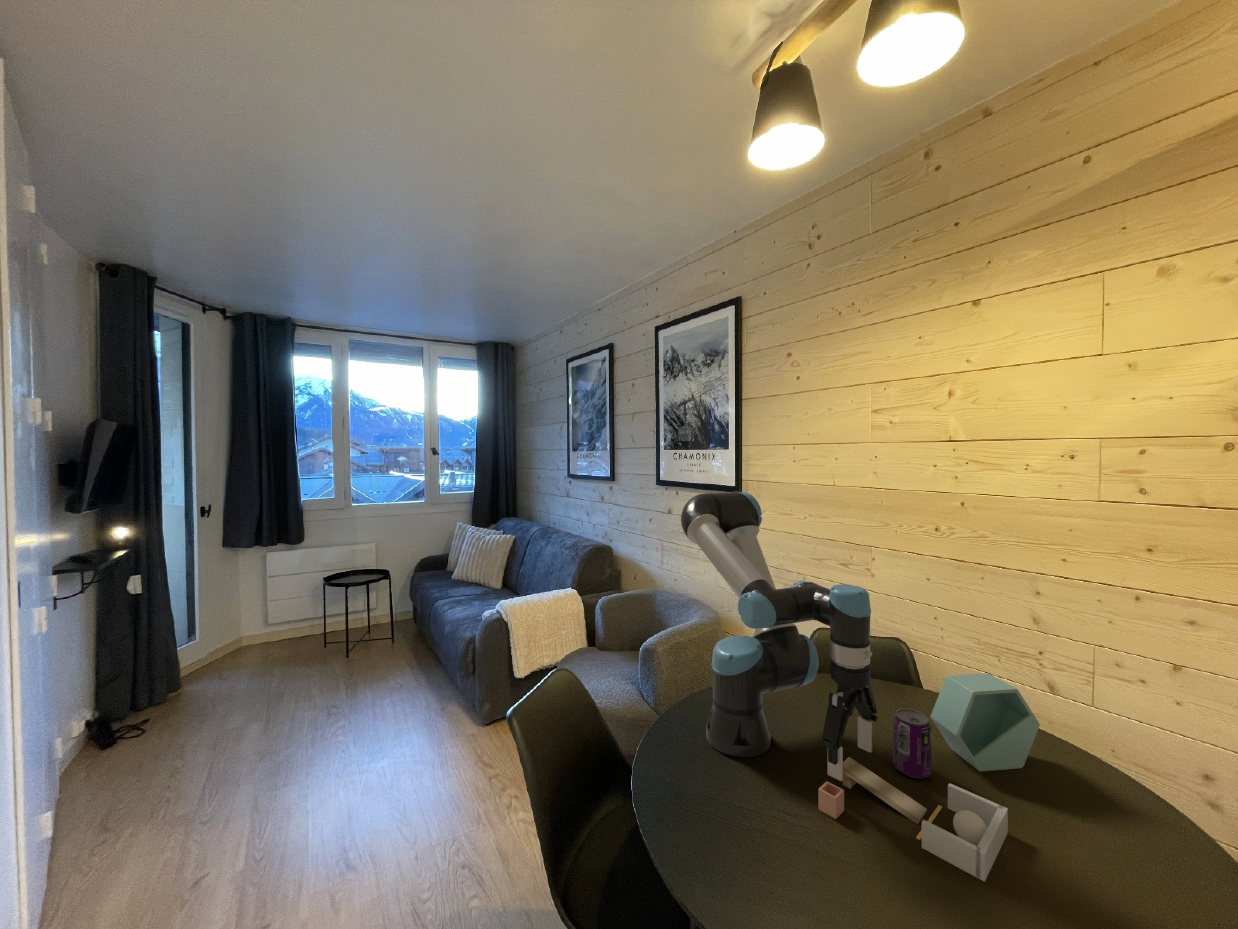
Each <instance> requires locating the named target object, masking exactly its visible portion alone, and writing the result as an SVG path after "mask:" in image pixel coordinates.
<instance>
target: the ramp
mask: <svg viewBox="0 0 1238 929" xmlns="http://www.w3.org/2000/svg"><path fill="white" fill-rule="evenodd" d="M841 782H842V786H843V787H846V788H848V789H850V790H851V789H852V788H853V787H854V786H855V785H856V784H859V785H860V786H861V787H863V788H864V789H866V790H867V791H869V792H870V793H871V794H872V795H875V797H877V798H879V799H880V800H881V801H883V802H884V803H886V804H887V805H888V806H890V807H891V808H893V809H894V810H896V811H897V812H899V813H900V814H901V815H903V816H904V817H905V818H907V819H909V820H910V821H911V822H913V823H915V824H918V825H919V824H920V822H922V820H923V819H924V816H925V815H926V814H927V811H928V809H927V808H926V807H925V806H923V805H922V804H920V803H919V802H918V801H916V800H914V799H913V798H912V797H910V796H909V795H907V794H905V793H904V792H902V791H901V790H900V789H898V788H896V787H895V786H894V785H892V784H890V783H889V782H887V781H886V780H884V779H883V778H882V777H880V776H879V775H877V774H875V773H874V772H873V771H872V770H870V769H868V768H866V766H864V765H862V764H860V763H859V762H858V761H857V760H855V759H853V758H852V757H850V756H848V757H847V758H846V759H845V760H843V780H842V781H841Z"/></svg>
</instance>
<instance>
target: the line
mask: <svg viewBox="0 0 1238 929" xmlns="http://www.w3.org/2000/svg"><path fill="white" fill-rule="evenodd" d="M942 808H943V806H942V805H939V804H938V805H937V807H936V808H935V809H934V811H933V812H932V814H930V816H929V818H928V819H927V821H928V822H930V823H932V824H933V821H934V820H935V819H936V817H937V816H938V815H939V813H940V811H941V810H942ZM915 839H916V840H918V841H921V840H922V828H921V829H920V831H919V832H918V834H917V835H916V836H915Z"/></svg>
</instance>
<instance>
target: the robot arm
mask: <svg viewBox="0 0 1238 929" xmlns="http://www.w3.org/2000/svg"><path fill="white" fill-rule="evenodd" d="M762 512H763V511H762V509H761V505H760V503H759V501H758V500H757V499H756V497H754V496H753V495H752V494H751V493H749V492H746V491H737V490H735V491H730V492H712V493H706V492H705V493H699V494H696V495H695V496H693V497H691V498H690V499H689V500H687V502H686V503H685V505H684V506H683V509H682V510H681V516H680V523H681V524H680V525H681V528H682V531H683V532H684V534H685V536H686V537H687V539H688V540H689V541H690V542H691V544H695V545H697V546H698V547H699V549H701V551H702V553H704V555H705V556H706V558H707V559H708V560H709V561H710V563H711V564H712V565H713V566H714V568H715V569H716V570H717V572H718V573H719V574H720V575H721V578H723V579H724V581H725V582H726V584H727V585H728V586H729V587H730V588H731V590H732V591H733V593H734V594H735V595H736V596H737V598H738V602H737V612H738V614H739V615H740V620H741V622H742V623H743V624H744V625H745V626H746V627H748V628H749V629H754V633H753V634H752V636H750V635H749V636H748V635H730V636H727V637H725V638H722V639H720V640H719V641H718V642H717V643H716V644H715V645H714V647H713V649H712V660H711V668H712V707H711V709H710V713H709V716H708V718H707V722H706V726H705V736H706V740H707V742H708V744H710V745H711V747H713V749H715V750H716V751H718V752H720V753H722V754H725V755H727V756H731V757H737V758H754V757H757V756H758V757H759V756H761V755H762V754H764V753H766V752H767V751H768V750H769V749H770V747H771V730H770V728H769V725H768V723H767V722H768V721H767V719H766V715H765V713H764V710H763V695H764V694H768V693H774V692H779V691H784V690H787V689H798V688H801V687H802V686H806V685H808V684H810V683H812V682H813V681H814V680H815V678H816V677H817V674H818V670H819V654H818V651H817V647H816V646H815V643H814V642H813V641H812V640H811V639H810V638H809V637H808V636H807V635H805V634H802V633H800V632H799V630H798V627H797V623H803V622H810V621H815V622H819V623H821V624H823V625H826V626H828V627H829V633H830V634H829V638H830V639H829V641H830V642H829V644H830V646H829V656H830V659H831V660H830V661H829V662H830V664H829V665H830V666H829V667H830V671H829V672H830V673H829V674H830V678H831V679H832V681H833V682H834V683H835V684H836V685H837V687H836V688H837V689H836V692H835V693H833V692H829V694H828V705H827V710H826V715H825V721H824V724H823V729H822V735H821V740H820V744H821V745H822V746H824V747H825V748H827V750H826V751H827V752H826V753H827V776H830V777H831V778H833V779H835V780H838V781H839V782H842V780H843V762H844V760H843V757H844V755H843V746H841V744H842V741H843V738H844V735H845V731H846V727H847V724H848V721H849V718H850V717H851V716H852V715H853V713H854V710H855V709H856V711H857V713H858V715H859V716H858V717H857V748H859V749H862V750H864V751H866V752H868V753H872V752H873V722H877V720H878V716H877V715H876V714H877V713H878V709H877V705H876V702H875V697H874V694H873V690H872V686H871V681H872V680H871V666H870V664H871V657H872V656H873V652H872V651H871V614H872V610H871V601H870V593H869V592H868V590H866V588H864V587H861V586H858V585H852V584H849V583H848V584H845V583H842V584H841V583H840V584H834V585H832V586H831V587H830V588H827V587H825V586H823V585H820V584H818V583H815V582H812V581H807V580H798V581H796V582H794V583H793V584H791V585H790V587H783V588H777V587H776V586H775V585H776V584H775V582H774V579H773V577H772V574H771V572H770V569H769V566H768V564H767V561H766V558H765V555H764V553H763V551H762V547H761V544H760V543H759V540H758V534H760V527H761V524H762V521H763V517H762V516H761V515H763V513H762Z"/></svg>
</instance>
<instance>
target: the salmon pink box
mask: <svg viewBox="0 0 1238 929" xmlns="http://www.w3.org/2000/svg"><path fill="white" fill-rule="evenodd" d="M817 791H818V794H817V796H818V799H817V800H818V803H817V806H818V807H817V808H818V810H819V811H820V812H822V813H824V814H825V815H828V816H829V817H831V818H833V819H834V820H837V818H839V817H840V815H841V814H842V813H844V812H845V789H843V788H842V787H839V786H837V785H835V784H833V783H831V782H829V781H827V780H826V781H825V782H824V783H823V784H822V785H821V786H820V787H819V788H818V790H817Z"/></svg>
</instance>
